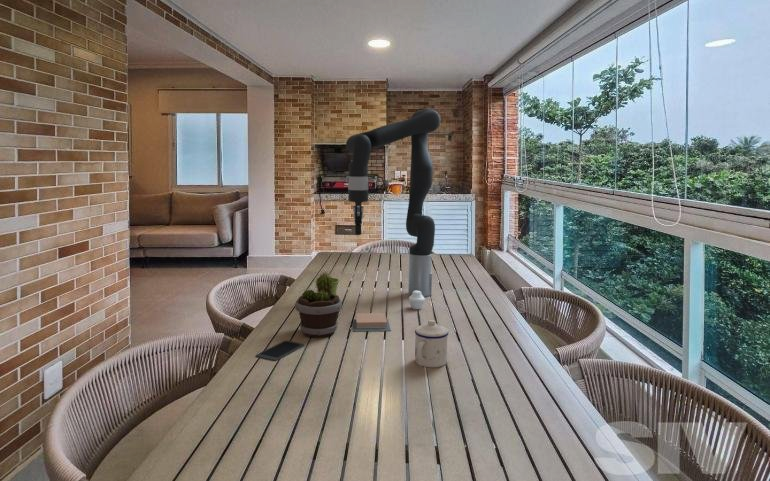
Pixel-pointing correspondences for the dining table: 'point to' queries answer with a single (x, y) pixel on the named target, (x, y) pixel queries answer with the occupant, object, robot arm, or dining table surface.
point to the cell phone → (280, 350)
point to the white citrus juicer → (416, 300)
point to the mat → (370, 328)
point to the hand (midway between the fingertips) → (358, 234)
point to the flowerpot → (319, 309)
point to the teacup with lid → (431, 345)
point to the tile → (371, 320)
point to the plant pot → (333, 285)
